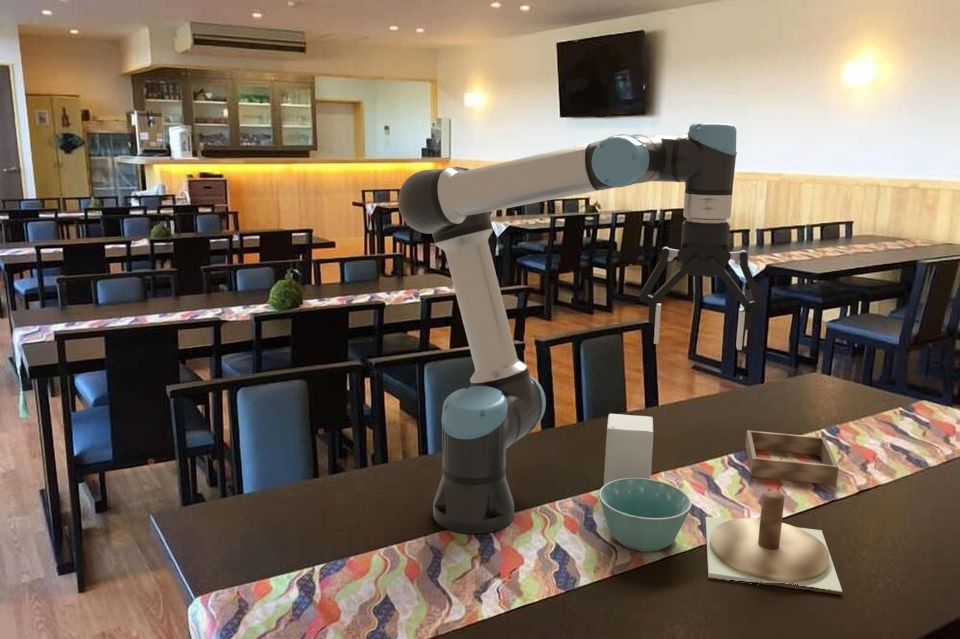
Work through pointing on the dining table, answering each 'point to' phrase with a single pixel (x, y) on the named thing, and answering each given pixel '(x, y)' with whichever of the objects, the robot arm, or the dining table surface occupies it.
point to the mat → (728, 573)
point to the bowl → (644, 512)
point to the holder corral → (791, 469)
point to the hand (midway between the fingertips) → (697, 345)
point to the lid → (769, 545)
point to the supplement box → (628, 447)
